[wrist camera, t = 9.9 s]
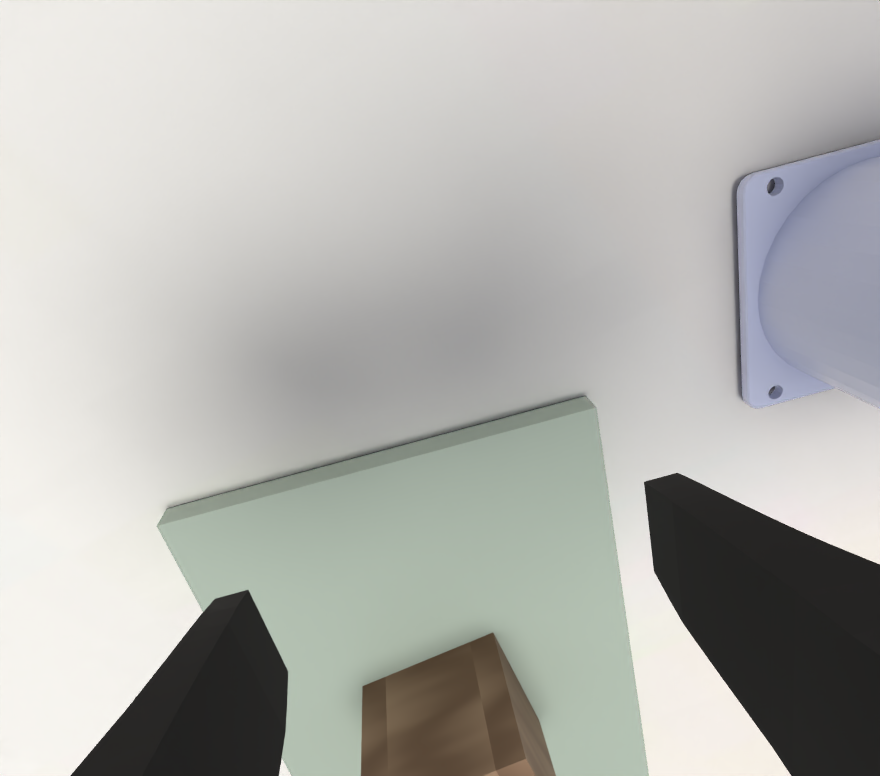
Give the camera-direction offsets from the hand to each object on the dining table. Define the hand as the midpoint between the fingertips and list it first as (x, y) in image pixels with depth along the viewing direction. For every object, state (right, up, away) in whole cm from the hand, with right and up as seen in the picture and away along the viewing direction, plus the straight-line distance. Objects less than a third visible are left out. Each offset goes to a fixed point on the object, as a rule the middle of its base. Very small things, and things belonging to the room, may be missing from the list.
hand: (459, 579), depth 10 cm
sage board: (0, -8, +13) cm, 15 cm away
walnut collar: (0, -10, +13) cm, 16 cm away
